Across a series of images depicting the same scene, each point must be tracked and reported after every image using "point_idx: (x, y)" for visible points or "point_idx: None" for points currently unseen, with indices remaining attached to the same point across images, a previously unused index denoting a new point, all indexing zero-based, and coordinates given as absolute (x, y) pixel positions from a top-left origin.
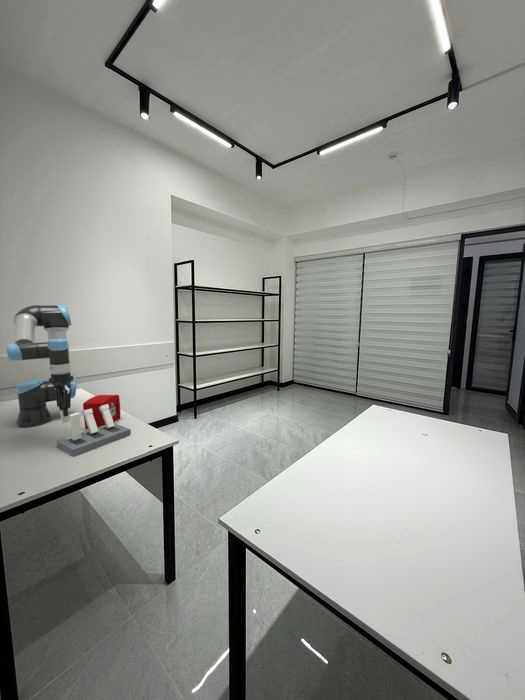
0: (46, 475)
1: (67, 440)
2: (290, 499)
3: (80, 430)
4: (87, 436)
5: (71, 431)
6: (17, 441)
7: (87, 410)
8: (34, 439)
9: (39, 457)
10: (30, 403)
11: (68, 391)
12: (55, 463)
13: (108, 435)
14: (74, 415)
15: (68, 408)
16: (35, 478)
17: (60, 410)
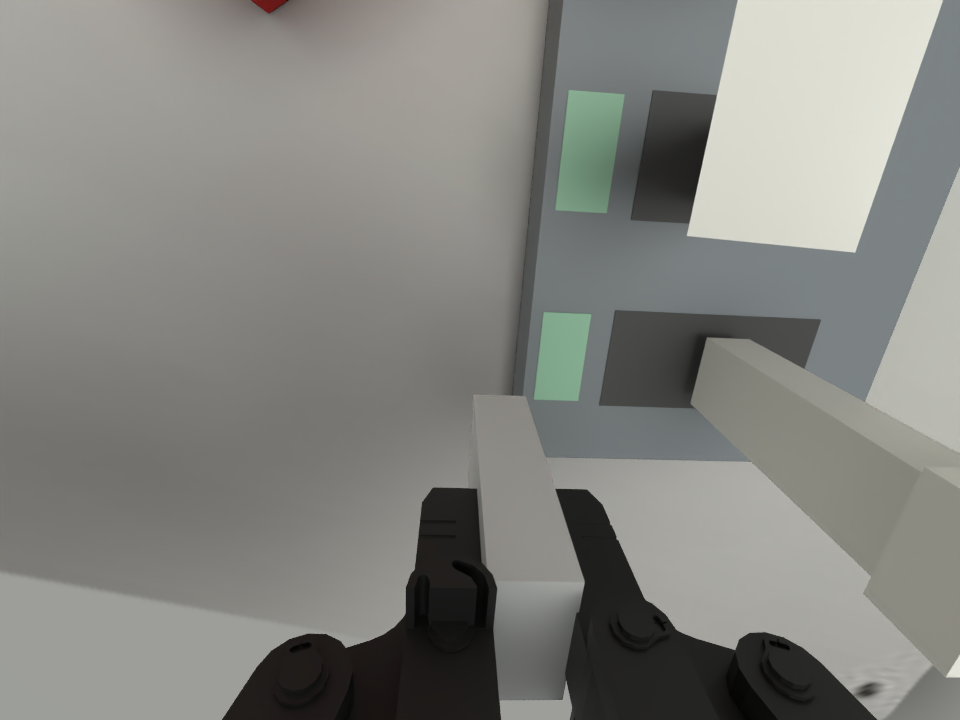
0: (837, 598)
1: (612, 405)
2: None
3: (812, 374)
4: (714, 246)
5: (745, 452)
6: (104, 535)
7: (881, 142)
8: (163, 455)
9: None
10: None
11: None
12: (759, 528)
13: (943, 88)
14: None
15: (649, 604)
16: (807, 632)
17: (499, 678)
